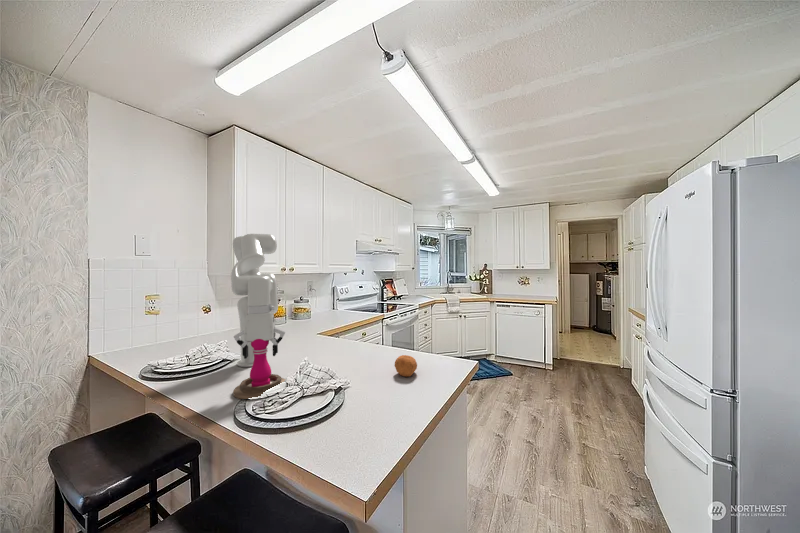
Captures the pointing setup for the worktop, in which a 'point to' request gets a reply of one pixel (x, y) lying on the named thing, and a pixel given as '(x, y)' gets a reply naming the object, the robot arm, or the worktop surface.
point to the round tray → (248, 391)
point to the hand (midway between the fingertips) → (260, 356)
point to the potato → (405, 365)
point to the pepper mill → (260, 364)
